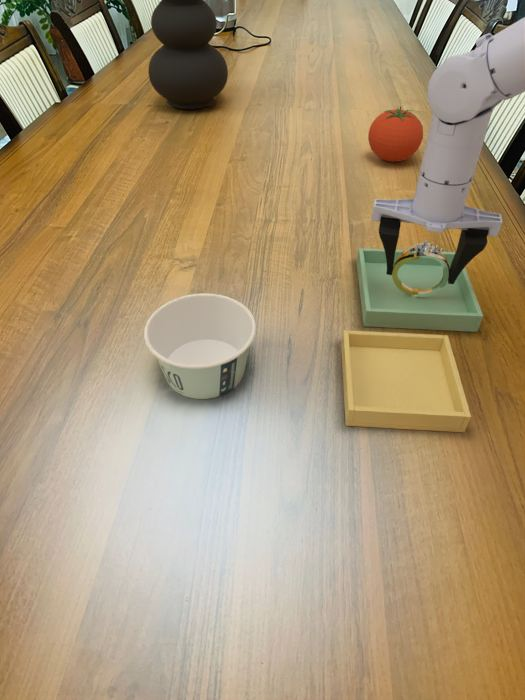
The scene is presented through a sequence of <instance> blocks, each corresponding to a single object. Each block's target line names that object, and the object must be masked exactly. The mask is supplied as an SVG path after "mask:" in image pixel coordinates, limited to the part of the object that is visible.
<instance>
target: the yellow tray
mask: <svg viewBox="0 0 525 700" xmlns="http://www.w3.org/2000/svg"><path fill="white" fill-rule="evenodd" d="M340 351H341V369H342V387H343V402H344V418H345V419H344V420H345V421H344V422H345V426H346V427H349V426H350V427H364V428H380V429H398V430H399V429H400V430H413V431H414V430H415V431H416V430H417V431H431V432H432V431H436V432H448V433H449V432H450V433H451V432H452V433H465V432H466V429H467V427H468V426H469V423H470V420H471V418H472V414H471V411H470V408H469V403H468V399H467V397H466V394H465V391H464V387H463V384H462V380H461V376H460V372H459V369H458V366H457V365H458V364H457V362H456V358H455V355H454V352H453V348H452V344H451V341H450V337H449V335H448V334H428V333H408V332H388V331H368V330H367V331H366V330H347V329H346V330H345V329H344V330H343V331H342V338H341V343H340Z"/></svg>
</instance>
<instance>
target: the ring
mask: <svg viewBox="0 0 525 700" xmlns="http://www.w3.org/2000/svg"><path fill="white" fill-rule="evenodd" d="M438 248H439V245H438V244H436V245H434V242H432V241H431V242H428V240H427V239H425V240H424V241H423V242H419V243H415V244H412V245H410V246H409V247H407V248H404V249H403V250H404V251H403V252H402V253H401V254H400V255H399V256H398V258H397V260H396V261H395V264H394V267H393V272H392V278H393V281H394V283H395V285H396V286H397V287H398V289H400V290H401V291H402V292H404V293H406V294H408V295H411V297H413V298H417V297H427V296H431V295H434V294H436V293H437V292H439V291H440V290H441V289H442V288H443V287H444V286H445V285H446V283H447V281H448V277H449V270H450V268H449V263H448V260H447V259H446V257H445V256H444V255H443V254H442V253H441V252H443V248H442V247H440V248H439V249H438ZM413 251H416V254H411V255H408V254H409V253H411V252H413ZM419 257H420V258H431V259H435V260H437V261H439V262H440V263H441V265H442V267H443V277H442V279H441V280H440V282H439V283H438V284H437V285H436V286H434V287H433V288H430V289H427V290H419V289H418V288H413V289H412V288H409V287H407V286H406V285H404V284H403V283H402V282H401V280H400V278H399V276H398V270H399V268H400V267H401V266H402V265H404V264H405V263H407V262H410V261H413V260H417V259H419Z"/></svg>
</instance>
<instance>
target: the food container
mask: <svg viewBox="0 0 525 700" xmlns="http://www.w3.org/2000/svg"><path fill="white" fill-rule="evenodd" d="M256 334H257V321H256V318H255V317H254V315H253V313H252V311H251V310H250V309H249V308H248V307H247V306H246V305H244V304H243V303H242V302H240V301H239V300H237V299H235V298H233V297H229V296H227V295H223V294H218V293H208V292H207V293H206V292H204V293H203V292H202V293H191V294H187V295H182V296H179V297H176V298H174V299H172V300H169V301H167V302H165V303H163V304H162V305H161V306H159V307H158V308H157V309H155V311H153V313H151V315H150V316H149V317H148V319H147V321H146V323H145V326H144V330H143V337H144V342H145V345H146V347H147V349H148V350H149V352H150V353H151V354H152V355H153V356H154V357H155V358H156V361H157V363H158V366H159V367H160V369H161V372H162V374H163V376H164V378H165V380H166V382H167V384H168V385H169V387H170V388H171V389H172V390H173V391H174V392H176V393H177V394H179V395H180V396H183V397H186V398H189V399H195V400H209V399H210V400H211V399H215V398H218V397H221V396H223V395H225V394H227V393H230V392H231V391H233V390H234V389H235V388H236V387H237V386H238V385H239V384H240V383H241V381H242V380H243V377H244V374H245V370H246V366H247V361H248V356H249V352H250V346H251V345H252V344H253V342H254V340H255V338H256Z"/></svg>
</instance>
